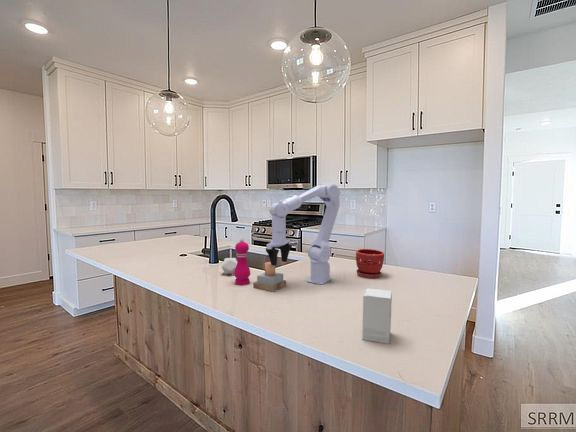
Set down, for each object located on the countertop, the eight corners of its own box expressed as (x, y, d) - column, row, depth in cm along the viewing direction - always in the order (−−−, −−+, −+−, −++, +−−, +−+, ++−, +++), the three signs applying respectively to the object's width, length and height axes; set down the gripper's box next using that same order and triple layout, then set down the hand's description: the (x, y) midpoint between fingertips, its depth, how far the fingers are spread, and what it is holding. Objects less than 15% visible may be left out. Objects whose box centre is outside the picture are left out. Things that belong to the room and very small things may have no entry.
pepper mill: (247, 285, 135) (246, 239, 133) (231, 284, 137) (230, 239, 135) (252, 281, 142) (252, 237, 141) (237, 280, 144) (237, 236, 142)
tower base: (267, 283, 141) (267, 277, 140) (286, 287, 135) (286, 280, 135) (253, 289, 132) (253, 282, 132) (272, 293, 127) (272, 286, 127)
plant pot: (355, 278, 146) (355, 253, 145) (355, 271, 159) (356, 248, 158) (384, 280, 143) (385, 254, 142) (382, 273, 156) (383, 249, 155)
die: (233, 278, 149) (243, 260, 152) (217, 269, 148) (227, 252, 152) (232, 280, 156) (242, 263, 160) (217, 271, 156) (227, 254, 159)
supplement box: (389, 344, 84) (390, 298, 83) (361, 339, 87) (362, 295, 86) (391, 332, 91) (392, 290, 90) (365, 328, 94) (366, 287, 93)
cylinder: (268, 272, 136) (268, 261, 135) (277, 274, 134) (277, 262, 133) (262, 275, 132) (262, 263, 132) (271, 276, 130) (271, 265, 129)
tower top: (268, 278, 139) (268, 271, 138) (283, 280, 135) (283, 273, 134) (257, 282, 132) (257, 275, 132) (272, 285, 128) (272, 278, 127)
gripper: (281, 228, 140) (281, 258, 141) (260, 232, 128) (261, 265, 129) (294, 230, 136) (294, 260, 137) (274, 234, 124) (274, 267, 125)
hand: (279, 263), depth 133 cm, fingers open, 7 cm apart
